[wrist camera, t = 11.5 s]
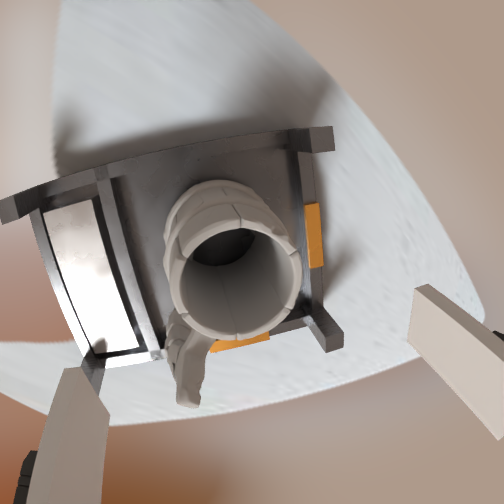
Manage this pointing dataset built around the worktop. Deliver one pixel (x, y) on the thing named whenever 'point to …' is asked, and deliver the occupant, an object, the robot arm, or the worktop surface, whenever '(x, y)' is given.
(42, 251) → the tray
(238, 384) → the worktop surface
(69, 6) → the worktop surface
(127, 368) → the worktop surface
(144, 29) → the worktop surface
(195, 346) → the mug
